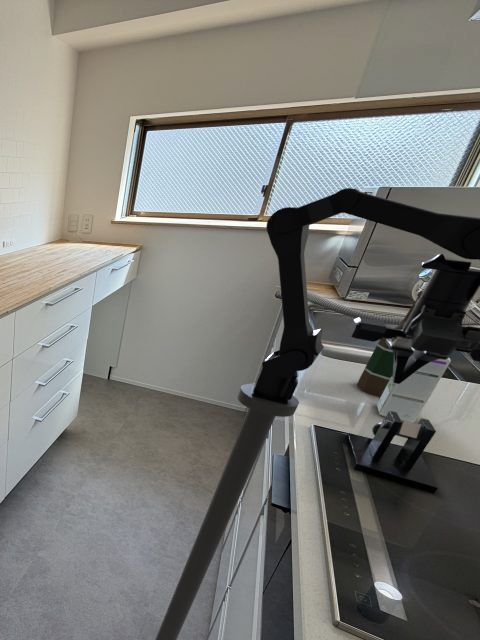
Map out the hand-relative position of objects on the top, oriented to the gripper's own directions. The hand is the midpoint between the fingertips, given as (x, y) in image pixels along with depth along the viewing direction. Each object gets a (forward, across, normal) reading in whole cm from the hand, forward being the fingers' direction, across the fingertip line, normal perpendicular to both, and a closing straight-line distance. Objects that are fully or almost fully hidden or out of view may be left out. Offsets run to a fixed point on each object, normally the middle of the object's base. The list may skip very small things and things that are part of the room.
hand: (395, 382), depth 76 cm
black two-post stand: (+11, +2, -11) cm, 15 cm away
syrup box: (+11, +6, +14) cm, 19 cm away
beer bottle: (+11, +5, +27) cm, 30 cm away
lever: (+8, +1, -7) cm, 11 cm away
